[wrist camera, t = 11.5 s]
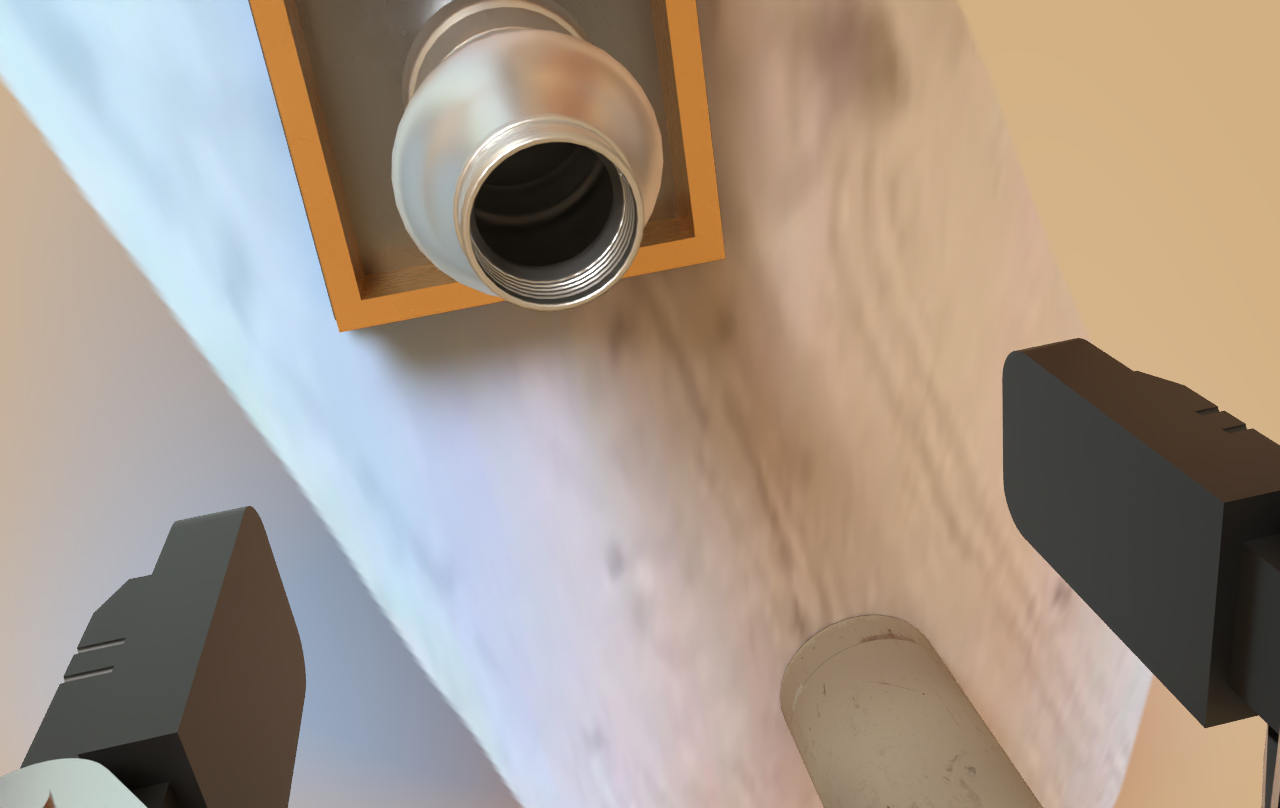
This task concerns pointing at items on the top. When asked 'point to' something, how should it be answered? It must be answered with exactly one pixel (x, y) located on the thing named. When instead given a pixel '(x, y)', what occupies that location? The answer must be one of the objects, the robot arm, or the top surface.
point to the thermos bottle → (891, 724)
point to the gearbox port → (373, 107)
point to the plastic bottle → (523, 154)
